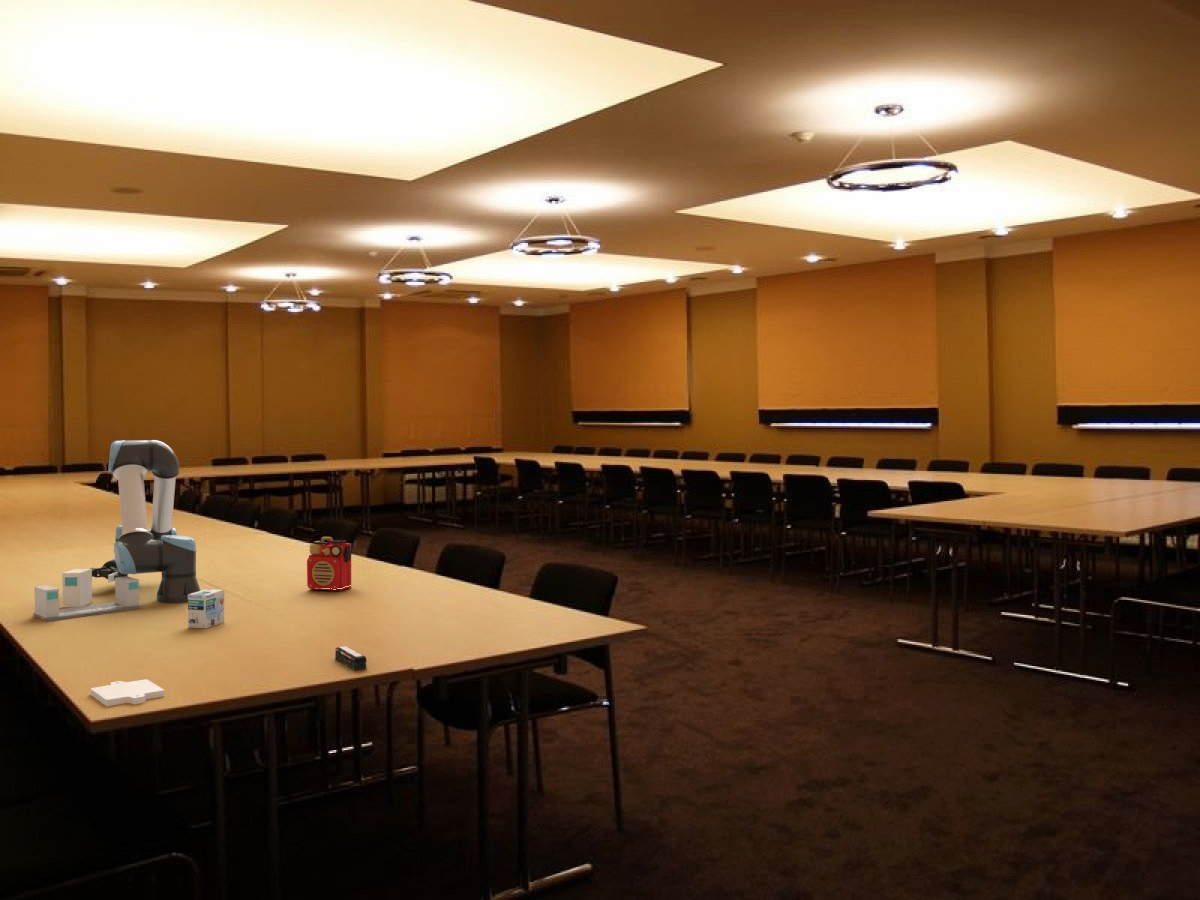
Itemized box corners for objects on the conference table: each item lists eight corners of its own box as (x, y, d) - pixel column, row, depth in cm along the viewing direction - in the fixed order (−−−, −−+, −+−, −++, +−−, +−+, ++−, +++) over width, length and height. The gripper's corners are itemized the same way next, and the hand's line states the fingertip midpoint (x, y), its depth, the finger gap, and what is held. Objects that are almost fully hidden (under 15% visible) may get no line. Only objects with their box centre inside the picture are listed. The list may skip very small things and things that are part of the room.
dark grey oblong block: (341, 678, 258) (341, 662, 258) (310, 658, 279) (310, 643, 279) (394, 670, 267) (394, 654, 266) (360, 651, 287) (360, 637, 287)
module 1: (47, 611, 335) (47, 585, 334) (59, 616, 328) (59, 588, 327) (34, 613, 332) (34, 586, 331) (46, 617, 325) (45, 590, 324)
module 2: (127, 601, 354) (126, 576, 354) (139, 605, 347) (139, 579, 347) (115, 602, 351) (115, 577, 351) (127, 606, 344) (127, 580, 344)
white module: (92, 602, 358) (91, 569, 357) (79, 607, 348) (79, 573, 348) (75, 602, 357) (74, 569, 357) (62, 607, 348) (61, 573, 348)
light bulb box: (206, 629, 314) (205, 595, 314) (187, 628, 315) (186, 594, 315) (225, 622, 324) (225, 589, 324) (206, 621, 326) (206, 588, 325)
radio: (304, 590, 383) (304, 538, 382) (318, 586, 393) (318, 535, 392) (342, 592, 379) (341, 540, 379) (354, 588, 389) (354, 537, 388)
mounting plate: (168, 700, 237) (168, 692, 237) (109, 710, 228) (109, 702, 228) (143, 684, 251) (143, 677, 250) (87, 693, 242) (87, 686, 242)
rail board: (125, 603, 355) (125, 600, 355) (141, 608, 346) (141, 605, 346) (33, 615, 333) (33, 612, 333) (47, 621, 324) (47, 618, 324)
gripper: (148, 578, 385) (125, 589, 364) (82, 578, 384) (55, 588, 362) (148, 559, 384) (125, 568, 363) (82, 559, 383) (54, 568, 362)
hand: (90, 578), depth 363 cm, fingers open, 13 cm apart
